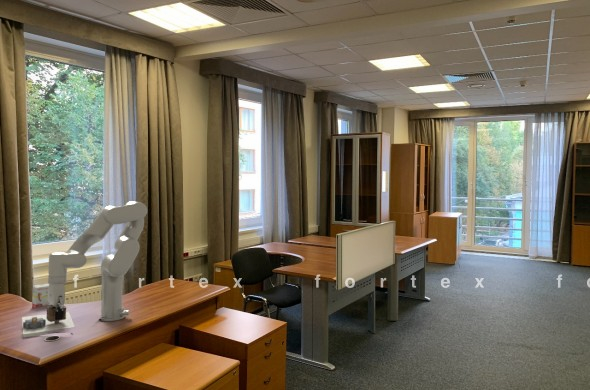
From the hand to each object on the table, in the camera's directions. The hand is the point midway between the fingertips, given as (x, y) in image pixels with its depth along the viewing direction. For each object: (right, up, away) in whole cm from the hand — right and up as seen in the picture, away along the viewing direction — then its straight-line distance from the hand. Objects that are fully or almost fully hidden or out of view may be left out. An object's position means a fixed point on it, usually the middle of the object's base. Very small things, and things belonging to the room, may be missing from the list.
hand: (56, 316), depth 201 cm
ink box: (-23, -3, +28) cm, 36 cm away
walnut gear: (0, -1, 0) cm, 1 cm away
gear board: (-5, -4, +2) cm, 7 cm away
